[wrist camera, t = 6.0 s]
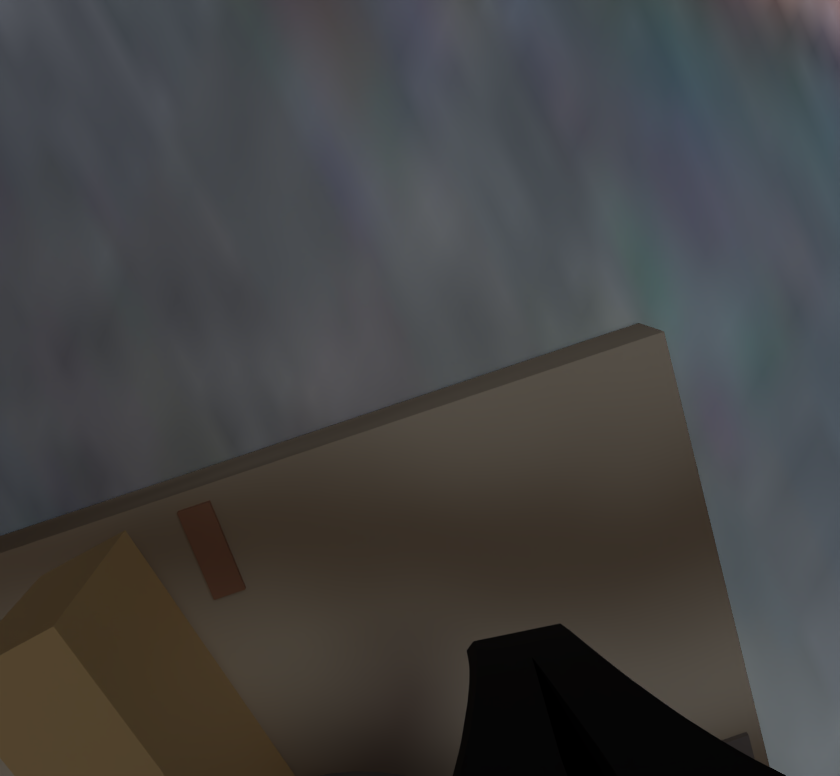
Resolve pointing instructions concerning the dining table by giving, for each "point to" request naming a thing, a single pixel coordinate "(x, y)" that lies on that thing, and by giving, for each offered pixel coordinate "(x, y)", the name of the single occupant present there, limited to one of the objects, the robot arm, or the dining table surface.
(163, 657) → the lever with round base
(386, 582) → the post board
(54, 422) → the dining table surface
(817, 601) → the dining table surface
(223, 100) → the dining table surface
